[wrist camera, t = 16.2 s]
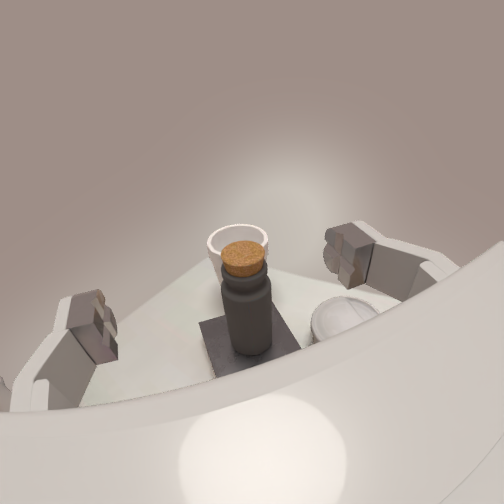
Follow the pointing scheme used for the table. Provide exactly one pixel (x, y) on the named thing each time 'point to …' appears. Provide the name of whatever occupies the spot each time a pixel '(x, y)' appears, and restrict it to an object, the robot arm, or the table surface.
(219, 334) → the podium
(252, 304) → the bottle
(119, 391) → the table surface
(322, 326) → the ramekin
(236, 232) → the foam cup
